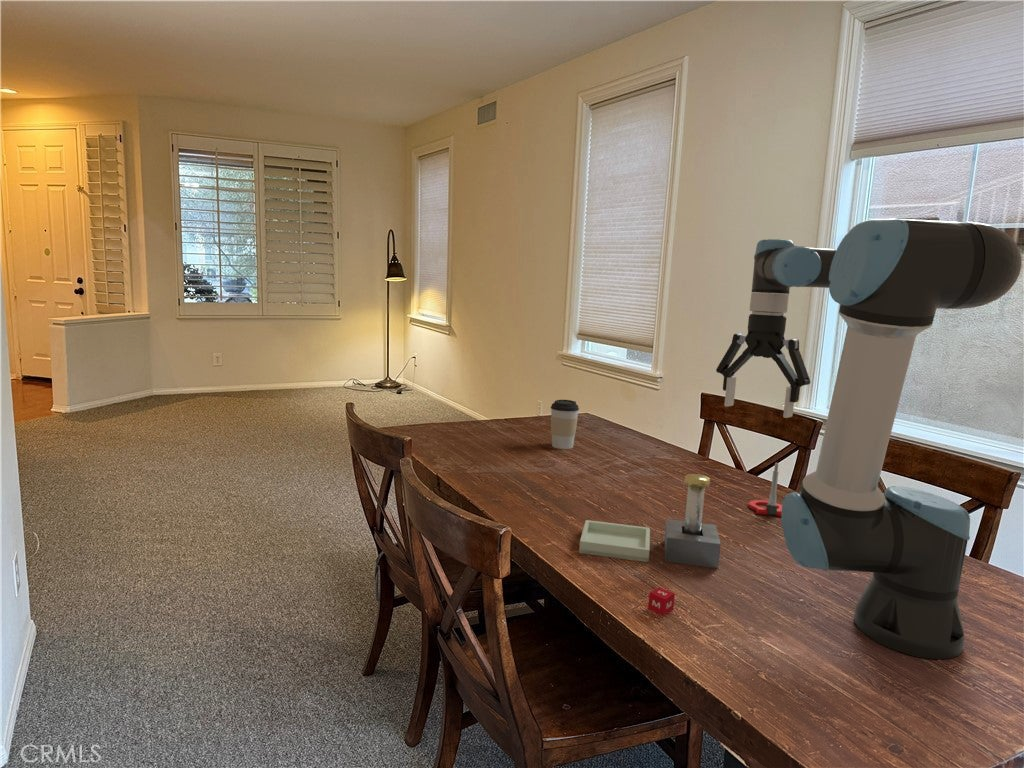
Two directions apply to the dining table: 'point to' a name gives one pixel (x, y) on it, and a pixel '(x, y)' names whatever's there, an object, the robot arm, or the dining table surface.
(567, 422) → the coffee cup
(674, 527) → the hitch block
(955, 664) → the dining table surface
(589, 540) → the tray
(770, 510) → the tow hook
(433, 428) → the dining table surface
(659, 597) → the dice
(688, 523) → the pin
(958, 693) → the dining table surface
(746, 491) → the dining table surface
